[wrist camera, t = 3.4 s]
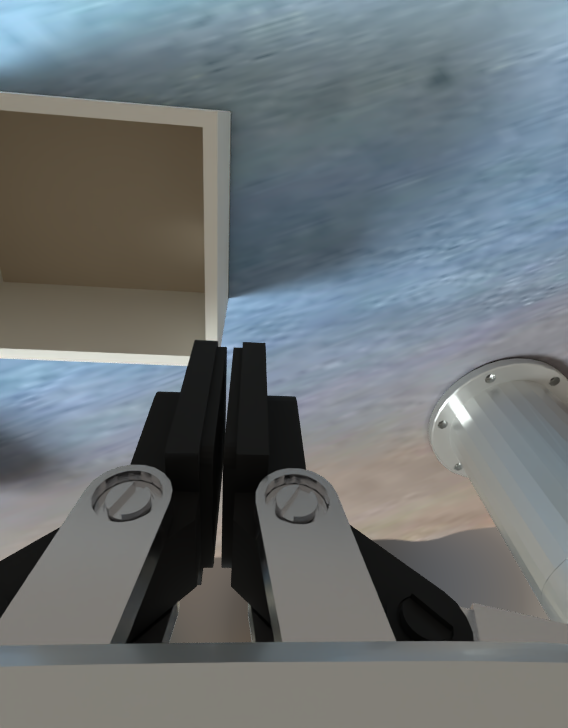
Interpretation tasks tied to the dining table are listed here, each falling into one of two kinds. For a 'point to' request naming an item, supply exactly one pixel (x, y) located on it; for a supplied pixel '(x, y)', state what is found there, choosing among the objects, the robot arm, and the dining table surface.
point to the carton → (112, 229)
